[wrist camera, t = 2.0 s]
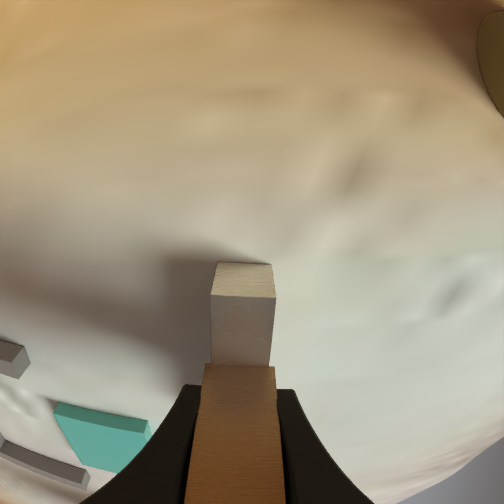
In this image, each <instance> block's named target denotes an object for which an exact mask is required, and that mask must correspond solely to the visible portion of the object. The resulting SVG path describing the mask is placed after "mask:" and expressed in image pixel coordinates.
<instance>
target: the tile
mask: <svg viewBox="0 0 504 504" xmlns="http://www.w3.org/2000/svg"><path fill="white" fill-rule="evenodd" d="M53 415H54V417H55V419H56V421H57V422H58V424H59V426H60V428H61V430H62V432H63V433H64V435H65V437H66V439H67V440H68V442H69V444H70V445H71V447H72V449H73V450H74V452H75V454H76V455H77V457H78V459H79V460H80V462H81V463H82V464H83V465H86V466H90V467H94V468H97V469H101V470H105V471H110V472H114V473H119V472H120V471H121V470H122V469H124V468H125V467H126V466H127V465H128V464H129V463H130V461H131V460H132V459H133V458H134V457H135V456H136V455H137V454H138V453H139V452H140V451H141V449H142V448H143V447H144V446H145V445H146V443H147V442H148V441H149V439H150V438H151V437H152V434H151V430H150V427H149V423H148V420H141V419H135V418H129V417H123V416H118V415H113V414H108V413H103V412H98V411H93V410H89V409H85V408H80V407H76V406H72V405H68V404H64V403H60V402H58V404H57V406H56V408H55V410H54V411H53Z"/></svg>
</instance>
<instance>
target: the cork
mask: <svg viewBox="0 0 504 504" xmlns="http://www.w3.org/2000/svg"><path fill="white" fill-rule="evenodd" d="M477 54H478V59H479V65H480V71H481V74H482V77H483V79H484V82H485V85H486V88H487V91H488V93H489V95H490V97H491V98H492V100H493V102H494V104H495V106H496V107H497V109H498V111H499V112H500V113H501V114H502V116H503V117H504V11H496V12H491V13H489V14H488V15H487V16H486V17H485V18H484V19H482V22H481V25H480V27H479V30H478V34H477Z"/></svg>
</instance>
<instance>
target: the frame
mask: <svg viewBox="0 0 504 504" xmlns="http://www.w3.org/2000/svg"><path fill="white" fill-rule="evenodd" d="M29 364H30V361H29V358H28V356H27V353H26V351H25V348H24V347H23V346H19V345H15V344H12V343H8V342H4V341H1V340H0V373H1V374H4V375H7V376H10V377H13V378H16V379H19V378H20V377H21V375H22V374H23V373H24V371H25V370H26V369H27V367H28V366H29ZM0 457H2V458H5V459H7V460H9V461H11V462H13V463H15V464H17V465H20V466H22V467H24V468H26V469H29V470H31V471H33V472H36V473H38V474H41V475H43V476H46V477H48V478H51V479H54V480H56V481H59V482H62V483H65V484H68V485H71V486H74V487H77V488H80V489H83V490H86V488H87V485H88V482H89V480H90V475H89V474H88V472H87V471H86V470H84V469H80V468H77V467H74V466H71V465H67V464H64V463H61V462H58V461H56V460H53V459H50V458H47V457H44V456H42V455H39V454H36V453H34V452H31V451H29V450H26V449H24V448H22V447H19V446H17V445H15V444H12V443H10V442H8V441H6V440H5V439H4V438H3V436H2V435H1V433H0Z"/></svg>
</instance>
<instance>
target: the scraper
mask: <svg viewBox="0 0 504 504" xmlns="http://www.w3.org/2000/svg"><path fill="white" fill-rule="evenodd" d="M275 305H276V293H275V285H274V278H273V271H272V265H267V264H246V263H226V262H218V264H217V268H216V273H215V277H214V281H213V286H212V290H211V364H208V363H206V365H205V371H204V377H203V383H202V389H201V395H200V396H201V400H200V405H199V409H198V414H197V420H196V427H195V433H194V440H193V446H192V453H191V459H190V466H189V473H188V480H187V487H186V494H185V501H184V504H286V501H285V488H284V475H283V462H282V450H281V437H280V425H279V414H278V409H277V400H276V399H277V390H276V379H275V367H271V366H269V360H270V351H271V342H272V333H273V324H274V315H275Z"/></svg>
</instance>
